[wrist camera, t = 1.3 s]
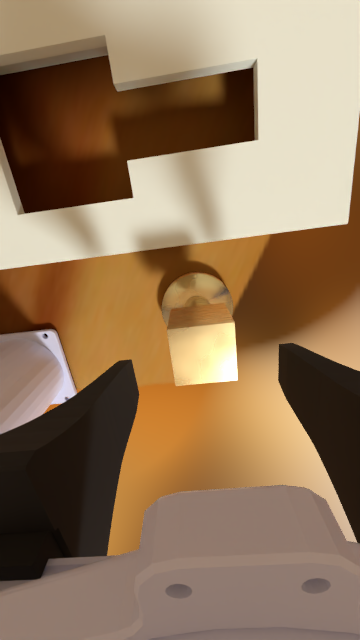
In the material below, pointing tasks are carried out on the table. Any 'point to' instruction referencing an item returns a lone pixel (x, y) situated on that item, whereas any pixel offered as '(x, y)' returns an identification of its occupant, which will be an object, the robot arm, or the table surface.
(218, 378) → the keyhole peg
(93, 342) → the table surface
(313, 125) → the keyhole plate
